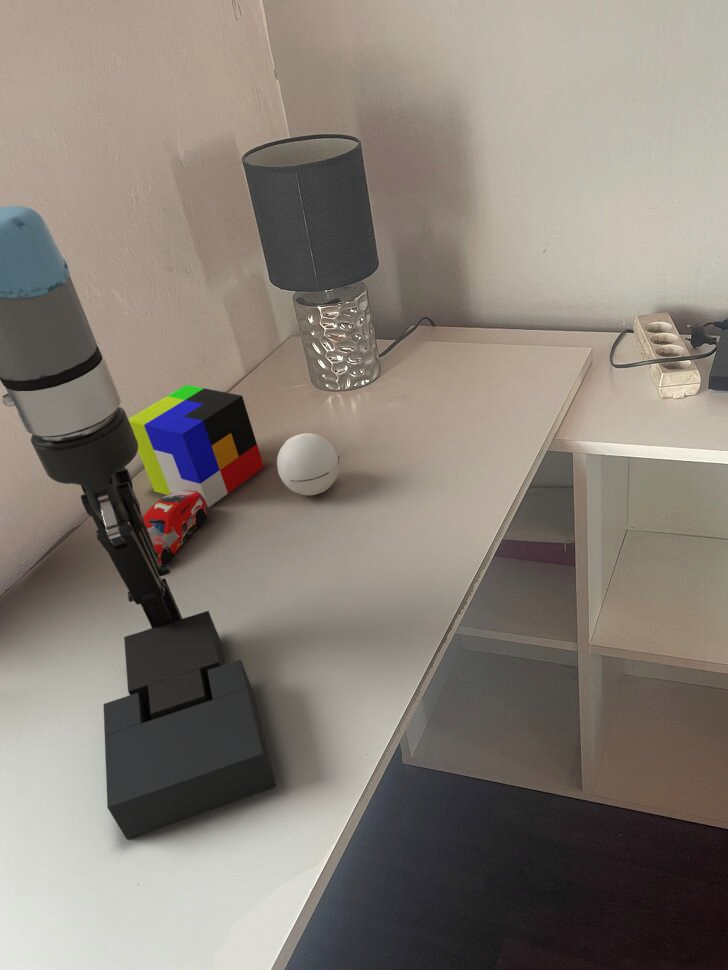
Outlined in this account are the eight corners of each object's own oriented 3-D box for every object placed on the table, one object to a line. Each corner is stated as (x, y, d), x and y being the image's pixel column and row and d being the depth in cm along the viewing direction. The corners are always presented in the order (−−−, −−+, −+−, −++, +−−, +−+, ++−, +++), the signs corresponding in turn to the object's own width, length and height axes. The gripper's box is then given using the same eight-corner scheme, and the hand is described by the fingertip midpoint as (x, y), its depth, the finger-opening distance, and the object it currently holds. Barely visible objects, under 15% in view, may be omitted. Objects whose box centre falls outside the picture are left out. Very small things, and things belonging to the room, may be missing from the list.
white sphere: (279, 510, 102) (263, 456, 98) (292, 477, 108) (277, 424, 104) (362, 503, 101) (349, 448, 97) (370, 470, 107) (358, 416, 102)
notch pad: (120, 735, 76) (103, 703, 74) (253, 691, 78) (240, 658, 76) (126, 839, 67) (107, 807, 65) (276, 786, 69) (263, 753, 67)
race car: (159, 577, 95) (146, 548, 92) (118, 573, 97) (104, 544, 94) (218, 510, 104) (207, 481, 102) (180, 507, 106) (169, 479, 103)
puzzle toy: (208, 507, 105) (182, 433, 99) (154, 491, 110) (125, 420, 104) (264, 467, 111) (242, 395, 105) (210, 453, 116) (186, 384, 110)
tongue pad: (139, 667, 83) (124, 636, 81) (220, 641, 85) (208, 610, 82) (146, 752, 74) (130, 720, 72) (238, 721, 76) (224, 689, 73)
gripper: (30, 401, 73) (132, 613, 88) (24, 469, 63) (139, 695, 78) (119, 377, 74) (205, 590, 89) (126, 440, 65) (221, 668, 79)
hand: (174, 639), depth 84 cm, fingers closed
